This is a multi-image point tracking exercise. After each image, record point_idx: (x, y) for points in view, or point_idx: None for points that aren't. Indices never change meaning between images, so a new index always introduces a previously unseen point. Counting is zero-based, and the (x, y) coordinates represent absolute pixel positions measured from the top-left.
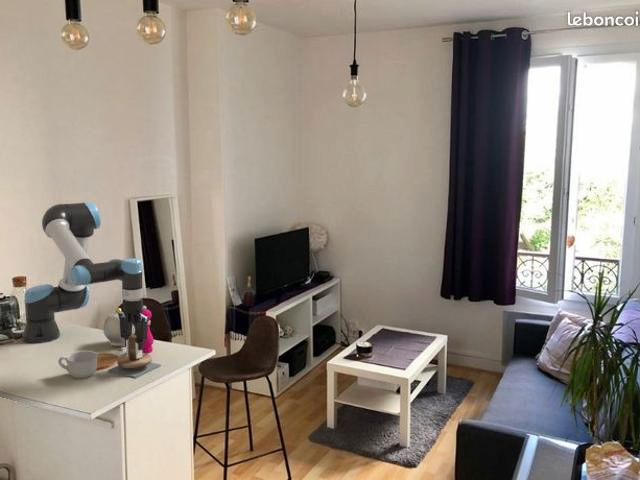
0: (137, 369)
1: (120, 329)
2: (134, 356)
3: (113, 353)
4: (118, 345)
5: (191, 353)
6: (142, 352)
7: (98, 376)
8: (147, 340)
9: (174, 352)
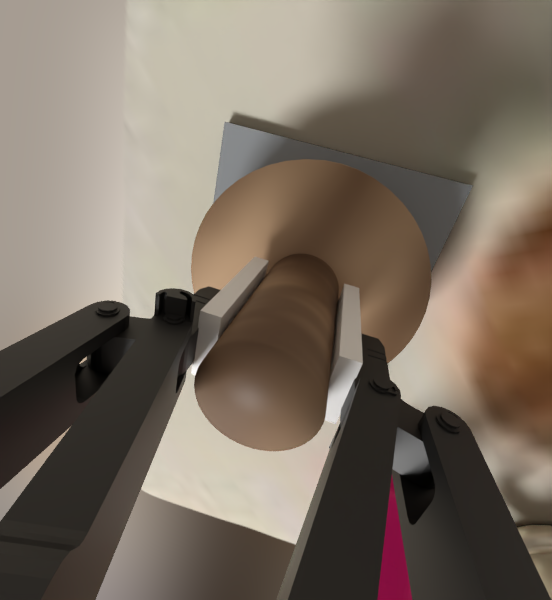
0: None
1: (512, 534)
2: (278, 267)
3: (538, 452)
4: (541, 531)
5: (163, 458)
6: None
7: (515, 66)
8: None
9: (231, 466)
